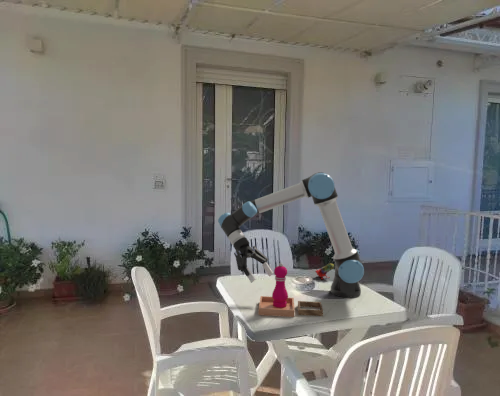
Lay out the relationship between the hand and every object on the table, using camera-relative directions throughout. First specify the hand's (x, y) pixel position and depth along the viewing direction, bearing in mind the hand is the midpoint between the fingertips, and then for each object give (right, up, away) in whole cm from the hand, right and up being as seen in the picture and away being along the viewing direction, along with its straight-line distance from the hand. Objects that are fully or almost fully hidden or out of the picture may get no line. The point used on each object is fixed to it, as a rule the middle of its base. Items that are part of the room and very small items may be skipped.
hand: (262, 277), depth 183 cm
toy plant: (+37, -9, +45) cm, 59 cm away
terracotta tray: (+6, -13, -4) cm, 15 cm away
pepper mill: (+8, -12, -2) cm, 15 cm away
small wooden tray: (+21, -14, -5) cm, 26 cm away
